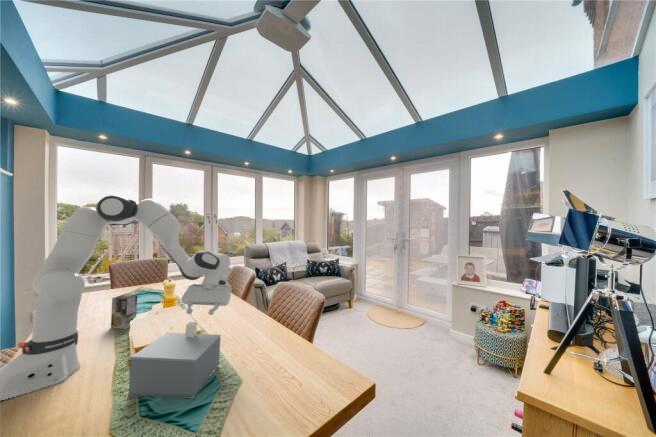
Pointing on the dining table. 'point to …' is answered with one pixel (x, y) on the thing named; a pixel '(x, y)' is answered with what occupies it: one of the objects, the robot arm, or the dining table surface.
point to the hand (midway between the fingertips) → (199, 313)
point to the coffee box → (123, 311)
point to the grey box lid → (178, 346)
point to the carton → (172, 375)
